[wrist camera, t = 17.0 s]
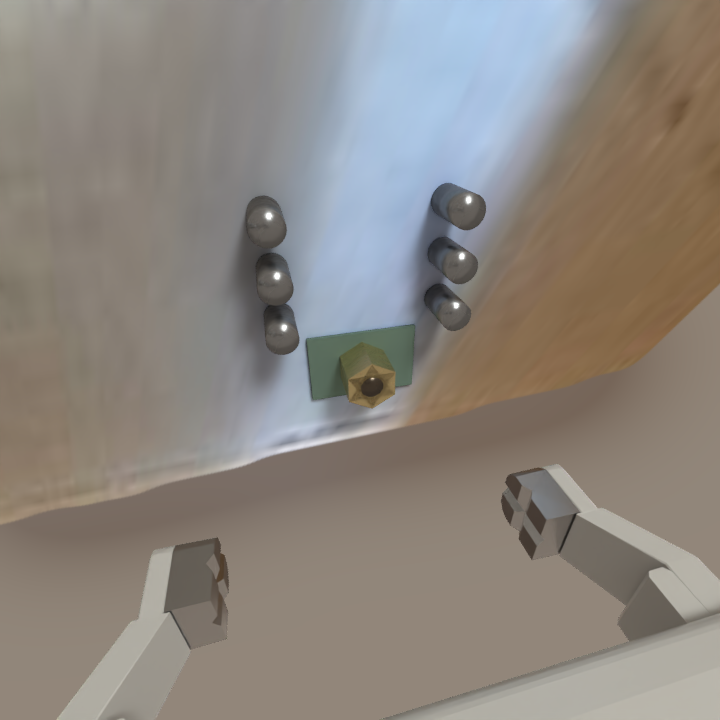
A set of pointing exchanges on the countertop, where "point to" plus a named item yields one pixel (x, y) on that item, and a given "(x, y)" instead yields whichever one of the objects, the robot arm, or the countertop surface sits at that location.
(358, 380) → the brass nut
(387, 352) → the rubber mat
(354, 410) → the countertop surface
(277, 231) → the spacer rows
